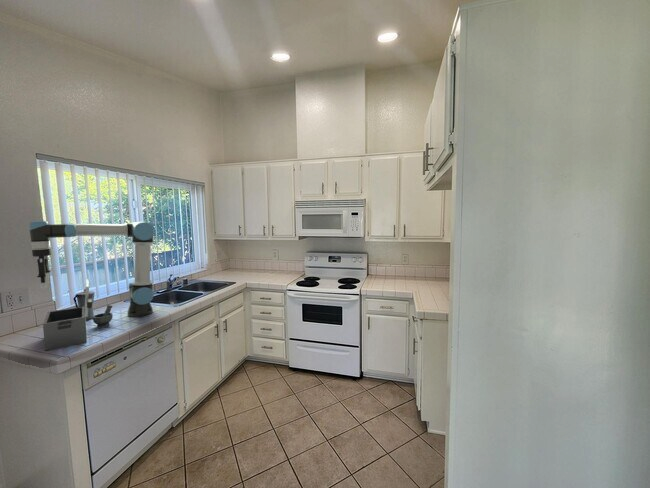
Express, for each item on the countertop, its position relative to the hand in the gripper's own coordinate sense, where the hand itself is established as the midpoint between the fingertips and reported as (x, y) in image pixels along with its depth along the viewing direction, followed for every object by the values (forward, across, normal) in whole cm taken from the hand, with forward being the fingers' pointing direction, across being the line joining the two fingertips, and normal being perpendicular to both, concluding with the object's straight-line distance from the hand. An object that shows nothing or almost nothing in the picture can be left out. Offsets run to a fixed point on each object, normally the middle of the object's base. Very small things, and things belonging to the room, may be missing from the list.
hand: (45, 286), depth 167 cm
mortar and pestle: (+29, 0, +25) cm, 39 cm away
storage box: (+29, +15, +8) cm, 34 cm away
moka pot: (+29, -23, +16) cm, 41 cm away
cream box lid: (+7, +17, +17) cm, 25 cm away
